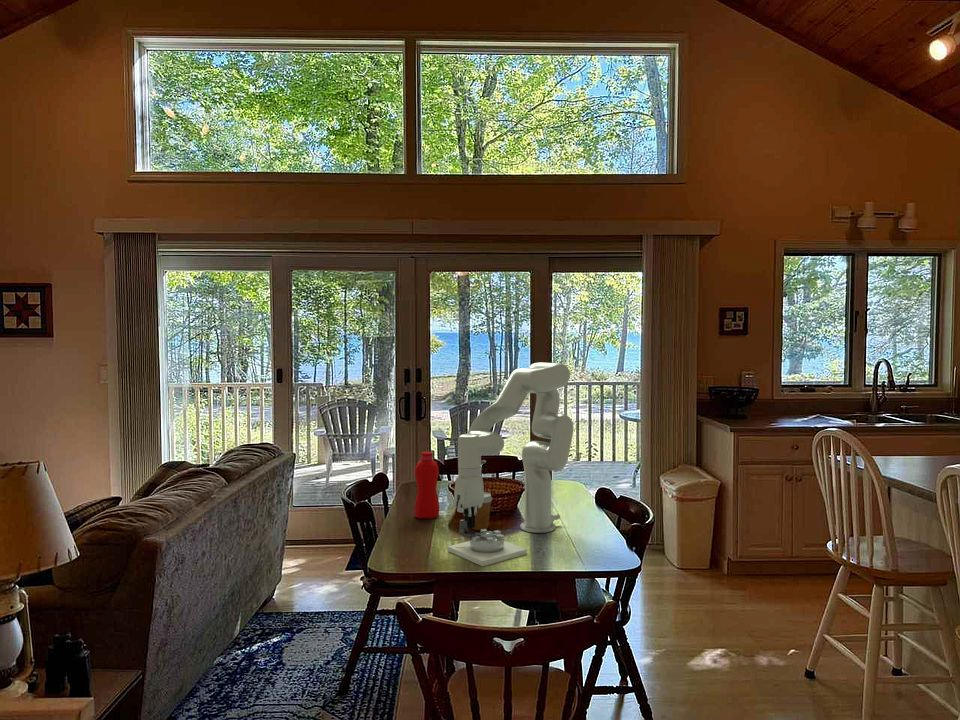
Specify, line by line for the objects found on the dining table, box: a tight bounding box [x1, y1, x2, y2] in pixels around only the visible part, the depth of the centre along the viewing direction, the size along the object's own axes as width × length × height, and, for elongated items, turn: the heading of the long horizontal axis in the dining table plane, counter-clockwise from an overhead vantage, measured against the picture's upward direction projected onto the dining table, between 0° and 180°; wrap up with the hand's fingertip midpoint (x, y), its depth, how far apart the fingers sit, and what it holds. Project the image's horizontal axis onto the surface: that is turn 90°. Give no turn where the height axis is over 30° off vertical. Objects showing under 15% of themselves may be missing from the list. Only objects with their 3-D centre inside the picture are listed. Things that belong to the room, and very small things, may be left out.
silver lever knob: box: [459, 518, 505, 553], centre depth 204 cm, size 15×11×8 cm
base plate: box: [447, 540, 528, 567], centre depth 204 cm, size 18×18×2 cm
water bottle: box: [414, 451, 440, 520], centre depth 246 cm, size 9×11×25 cm
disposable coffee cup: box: [471, 491, 493, 531], centre depth 231 cm, size 10×10×12 cm
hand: (470, 527), depth 209 cm, fingers closed
